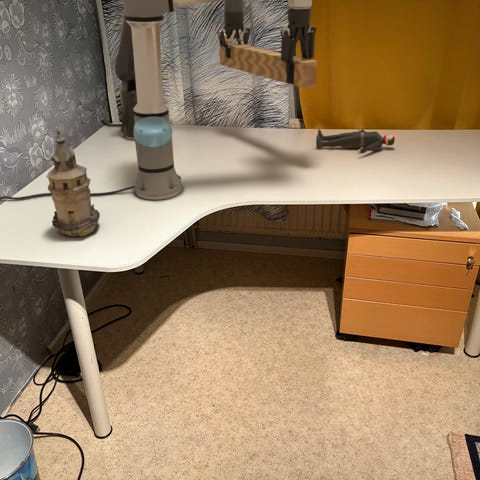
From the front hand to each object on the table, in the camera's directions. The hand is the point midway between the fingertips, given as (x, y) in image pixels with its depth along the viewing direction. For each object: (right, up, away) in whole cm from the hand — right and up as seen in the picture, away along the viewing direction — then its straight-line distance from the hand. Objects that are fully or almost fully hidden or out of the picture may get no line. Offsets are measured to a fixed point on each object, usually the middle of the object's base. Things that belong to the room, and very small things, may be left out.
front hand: (296, 81), depth 182 cm
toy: (+26, -17, +30) cm, 44 cm away
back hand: (-21, +17, +25) cm, 37 cm away
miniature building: (-66, -51, -27) cm, 88 cm away
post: (-11, +7, +14) cm, 18 cm away
